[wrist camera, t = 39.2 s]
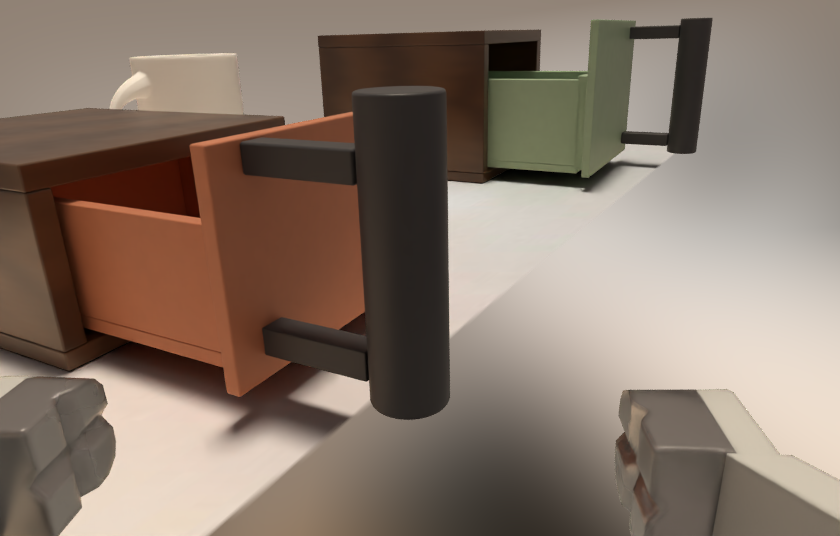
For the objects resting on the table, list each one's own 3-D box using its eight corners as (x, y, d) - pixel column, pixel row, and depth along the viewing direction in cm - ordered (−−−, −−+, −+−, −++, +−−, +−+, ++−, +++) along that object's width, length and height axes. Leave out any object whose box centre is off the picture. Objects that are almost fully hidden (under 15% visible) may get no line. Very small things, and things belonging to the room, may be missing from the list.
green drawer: (697, 153, 57) (714, 18, 53) (676, 184, 46) (696, 16, 42) (474, 141, 67) (475, 26, 63) (413, 164, 56) (409, 26, 52)
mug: (94, 192, 53) (66, 59, 50) (212, 167, 62) (195, 53, 59) (153, 205, 49) (127, 59, 45) (271, 176, 58) (258, 53, 54)
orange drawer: (560, 284, 28) (573, 64, 25) (417, 453, 17) (405, 96, 14) (206, 229, 38) (182, 66, 35) (-32, 313, 27) (-100, 85, 24)
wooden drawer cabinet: (536, 155, 64) (541, 29, 60) (483, 183, 53) (484, 30, 49) (400, 146, 72) (396, 34, 67) (327, 169, 60) (317, 35, 56)
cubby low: (299, 260, 36) (284, 116, 33) (68, 372, 24) (17, 164, 21) (112, 228, 43) (88, 107, 40) (-133, 302, 31) (-191, 140, 29)
